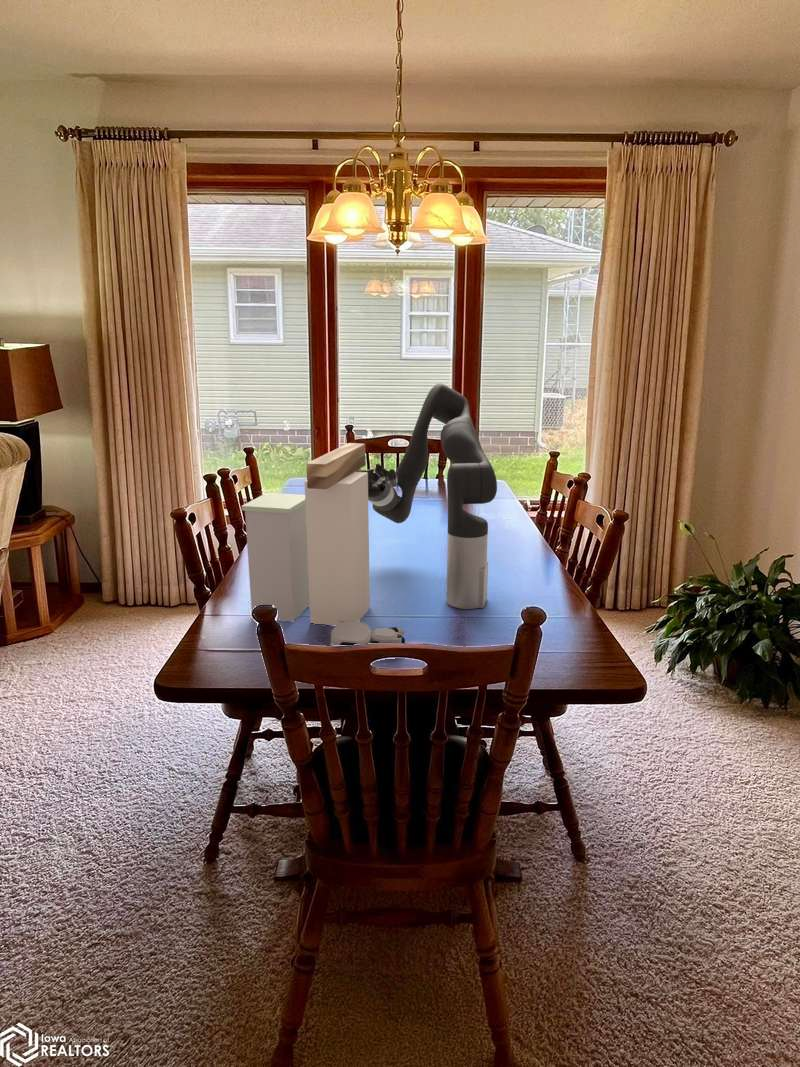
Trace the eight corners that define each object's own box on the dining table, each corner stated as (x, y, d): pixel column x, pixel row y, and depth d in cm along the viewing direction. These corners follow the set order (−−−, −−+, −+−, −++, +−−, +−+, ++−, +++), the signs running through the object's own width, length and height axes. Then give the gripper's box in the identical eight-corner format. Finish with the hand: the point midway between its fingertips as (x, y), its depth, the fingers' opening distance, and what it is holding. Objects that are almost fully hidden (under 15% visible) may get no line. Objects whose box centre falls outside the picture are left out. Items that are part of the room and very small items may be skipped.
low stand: (316, 601, 170) (312, 495, 162) (294, 623, 158) (289, 508, 150) (273, 597, 172) (267, 492, 165) (249, 618, 160) (241, 505, 153)
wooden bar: (365, 465, 165) (365, 443, 164) (326, 489, 141) (325, 464, 139) (349, 464, 166) (348, 443, 165) (307, 488, 142) (306, 463, 140)
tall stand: (369, 608, 166) (367, 472, 157) (353, 628, 155) (350, 483, 146) (329, 604, 168) (324, 470, 159) (310, 623, 157) (304, 481, 148)
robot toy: (404, 641, 151) (334, 635, 151) (406, 621, 149) (335, 615, 150) (402, 668, 139) (326, 661, 139) (404, 646, 138) (327, 640, 138)
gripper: (352, 472, 185) (333, 450, 170) (405, 475, 182) (390, 452, 166) (348, 500, 183) (328, 480, 168) (402, 503, 180) (386, 483, 165)
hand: (359, 466), depth 167 cm, fingers open, 8 cm apart
